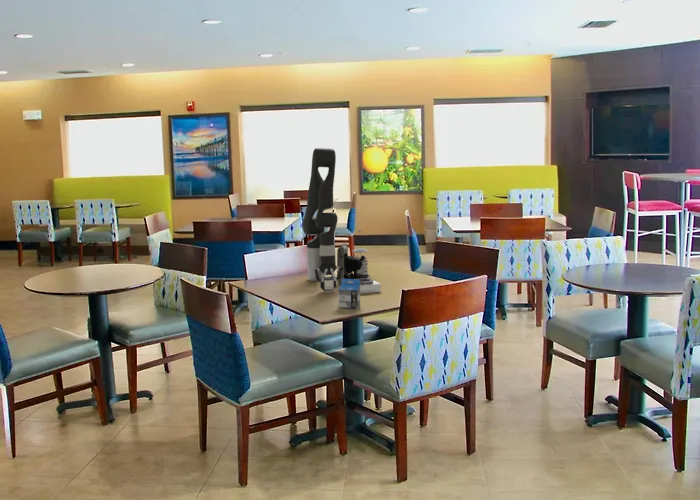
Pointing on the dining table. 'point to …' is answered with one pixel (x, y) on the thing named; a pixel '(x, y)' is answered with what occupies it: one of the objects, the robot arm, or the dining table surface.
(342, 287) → the blue printed box
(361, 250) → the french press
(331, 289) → the cream grey cylinder
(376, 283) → the octagonal ring slab
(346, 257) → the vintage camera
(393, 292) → the dining table surface
